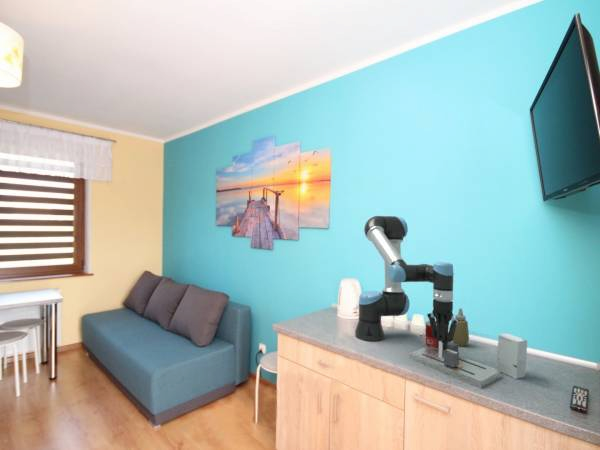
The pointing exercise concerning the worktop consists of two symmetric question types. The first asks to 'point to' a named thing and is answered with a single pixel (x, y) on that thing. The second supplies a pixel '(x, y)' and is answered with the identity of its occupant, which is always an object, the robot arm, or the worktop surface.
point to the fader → (451, 358)
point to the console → (464, 371)
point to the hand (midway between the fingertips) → (442, 356)
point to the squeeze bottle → (461, 330)
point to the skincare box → (511, 355)
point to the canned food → (430, 336)
